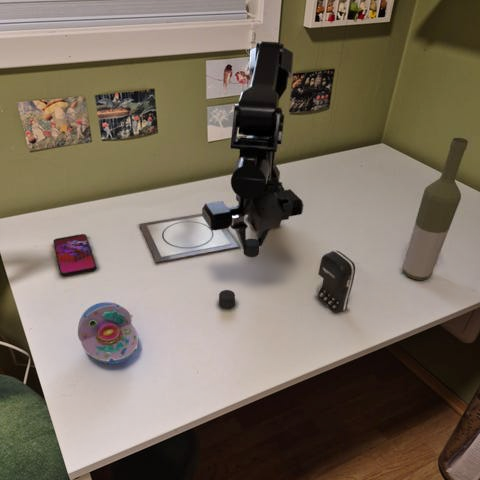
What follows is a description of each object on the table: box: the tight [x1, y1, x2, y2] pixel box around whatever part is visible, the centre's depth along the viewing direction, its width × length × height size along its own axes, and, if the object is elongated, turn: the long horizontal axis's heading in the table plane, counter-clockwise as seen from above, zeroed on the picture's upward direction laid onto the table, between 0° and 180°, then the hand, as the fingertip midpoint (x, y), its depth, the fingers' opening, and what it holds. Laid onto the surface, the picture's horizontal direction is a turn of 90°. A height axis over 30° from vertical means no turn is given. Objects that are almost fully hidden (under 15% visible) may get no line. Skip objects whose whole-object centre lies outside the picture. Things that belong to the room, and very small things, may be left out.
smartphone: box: [53, 233, 97, 277], centre depth 107 cm, size 8×1×15 cm
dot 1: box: [218, 289, 236, 310], centre depth 95 cm, size 3×3×2 cm
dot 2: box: [243, 237, 261, 258], centre depth 94 cm, size 3×3×2 cm
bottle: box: [402, 137, 469, 281], centre depth 96 cm, size 7×7×30 cm
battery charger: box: [317, 250, 356, 313], centre depth 93 cm, size 7×4×11 cm, turn 31°
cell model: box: [77, 301, 139, 364], centre depth 81 cm, size 10×12×10 cm
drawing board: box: [139, 213, 240, 264], centre depth 115 cm, size 20×18×1 cm
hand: (251, 247), depth 94 cm, fingers closed on dot 2, 3 cm apart
